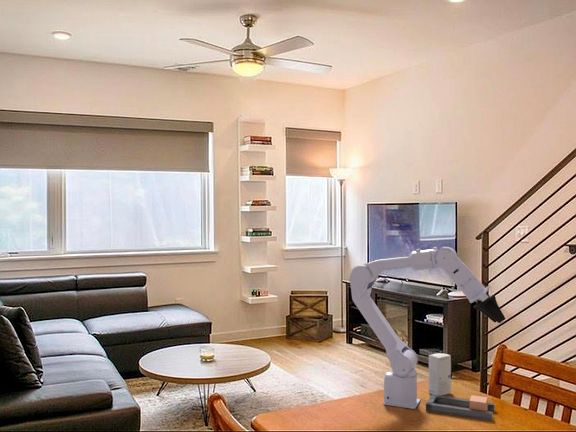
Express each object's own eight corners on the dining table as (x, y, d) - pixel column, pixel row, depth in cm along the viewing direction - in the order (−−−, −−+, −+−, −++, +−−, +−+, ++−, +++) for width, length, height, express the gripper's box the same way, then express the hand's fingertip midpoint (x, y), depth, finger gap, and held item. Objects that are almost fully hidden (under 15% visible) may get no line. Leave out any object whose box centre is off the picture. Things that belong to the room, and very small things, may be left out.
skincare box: (438, 396, 169) (438, 358, 169) (427, 392, 173) (427, 354, 173) (451, 393, 173) (452, 355, 173) (440, 389, 176) (440, 352, 176)
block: (469, 414, 154) (469, 400, 154) (471, 408, 159) (471, 395, 159) (485, 417, 152) (485, 402, 152) (487, 411, 157) (487, 397, 157)
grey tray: (425, 410, 157) (425, 404, 157) (431, 401, 166) (431, 394, 166) (492, 421, 150) (492, 413, 150) (494, 410, 158) (494, 403, 158)
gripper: (481, 271, 148) (516, 312, 145) (475, 274, 162) (506, 311, 159) (461, 287, 149) (495, 328, 145) (456, 289, 163) (487, 326, 159)
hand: (500, 320), depth 152 cm, fingers open, 7 cm apart
